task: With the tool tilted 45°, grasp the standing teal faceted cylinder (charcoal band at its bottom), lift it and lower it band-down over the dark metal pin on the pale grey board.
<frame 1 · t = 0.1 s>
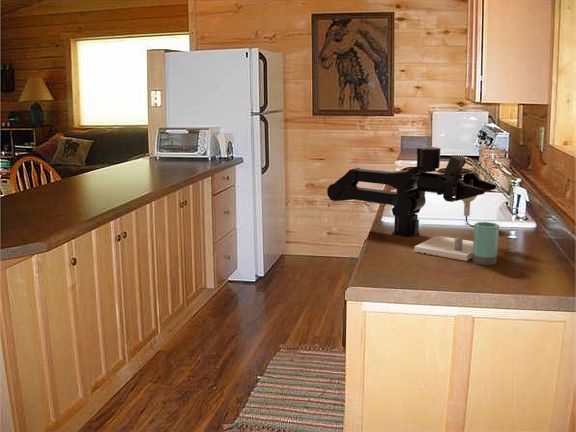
hand: (490, 189, 172), 17 cm above the counter, tool horizontal, fingers open, 9 cm apart
pin board: (450, 250, 173), on the counter
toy: (465, 224, 204), on the counter
teal faceted cylinder: (484, 261, 161), on the counter
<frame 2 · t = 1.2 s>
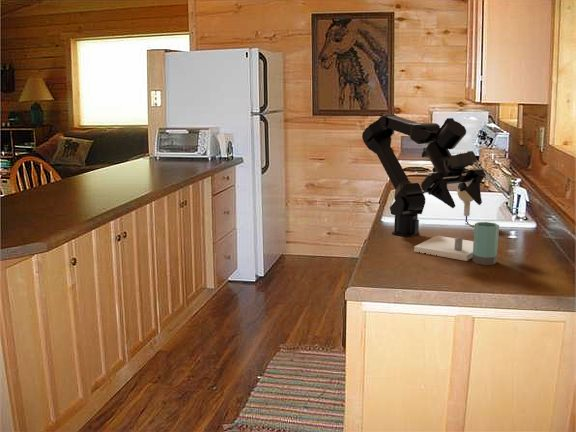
hand: (467, 205, 165), 14 cm above the counter, tool tilted 45°, fingers open, 9 cm apart
nothing on the counter moved.
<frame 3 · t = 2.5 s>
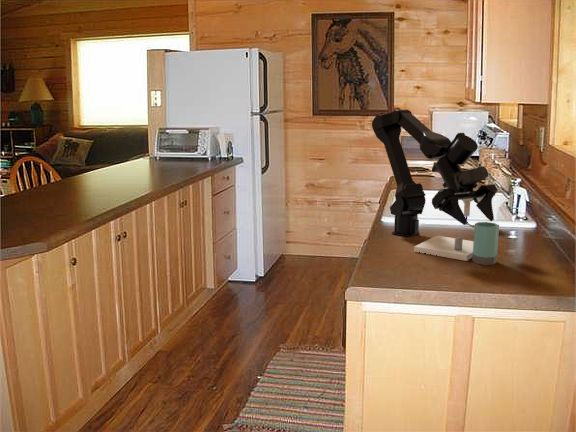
hand: (479, 222, 162), 10 cm above the counter, tool tilted 45°, fingers open, 9 cm apart
nothing on the counter moved.
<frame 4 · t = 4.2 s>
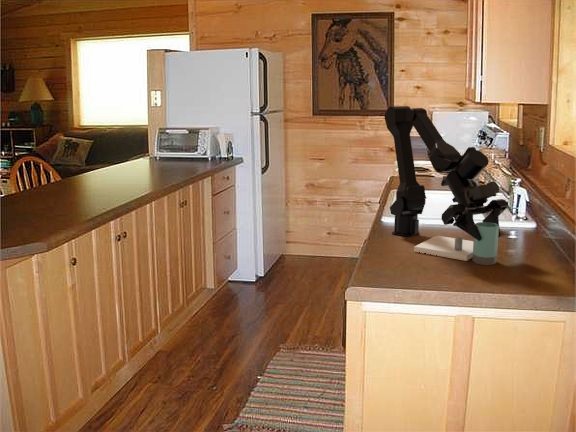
hand: (489, 238, 159), 7 cm above the counter, tool tilted 45°, fingers closed on teal faceted cylinder, 6 cm apart
teal faceted cylinder: (484, 261, 161), on the counter, touching gripper
everything else where it was.
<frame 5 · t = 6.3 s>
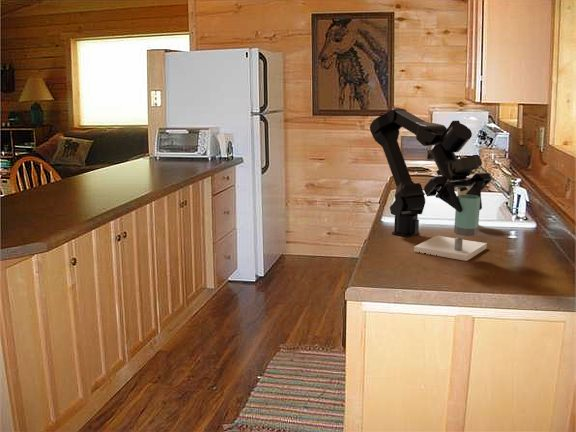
hand: (470, 210, 162), 13 cm above the counter, tool tilted 45°, fingers closed on teal faceted cylinder, 6 cm apart
teal faceted cylinder: (465, 233, 165), point 6 cm above the counter, touching gripper
everything else where it was.
when the fingers open (9 cm above the counter, at t = 8.4 s): teal faceted cylinder stays where it is, resting on pin board.
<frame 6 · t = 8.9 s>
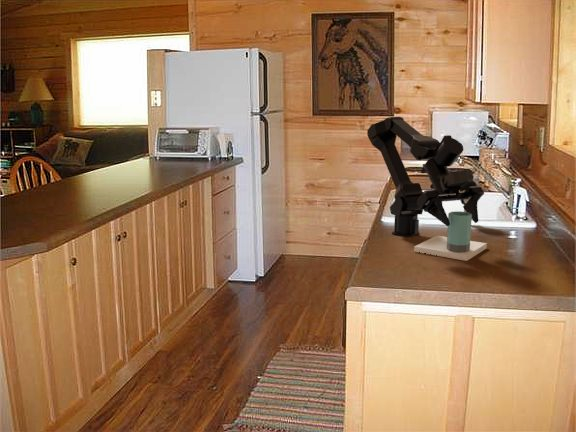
hand: (463, 223, 164), 9 cm above the counter, tool tilted 45°, fingers open, 9 cm apart
teal faceted cylinder: (458, 249, 167), point 1 cm above the counter, touching pin board
everything else where it was.
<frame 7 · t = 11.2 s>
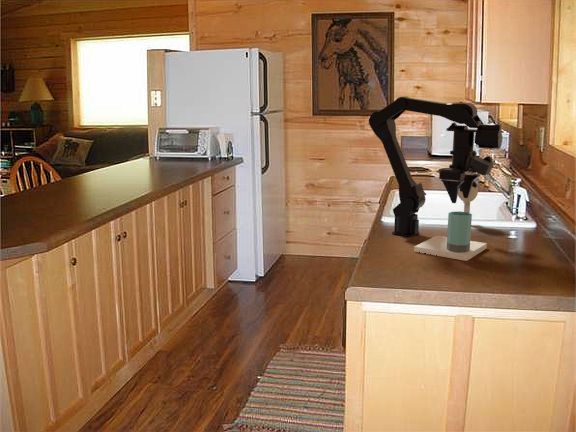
hand: (460, 200, 180), 12 cm above the counter, tool pointing down, fingers open, 9 cm apart
nothing on the counter moved.
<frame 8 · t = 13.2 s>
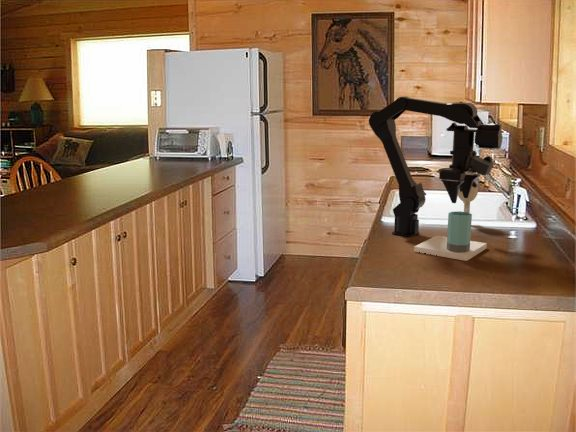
hand: (460, 200, 180), 12 cm above the counter, tool pointing down, fingers open, 9 cm apart
nothing on the counter moved.
at the end: teal faceted cylinder 0.0 cm from the target spot on the pin board, point 1.5 cm above the pin board's base; teal faceted cylinder tilted 0°; the gripper is holding nothing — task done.
